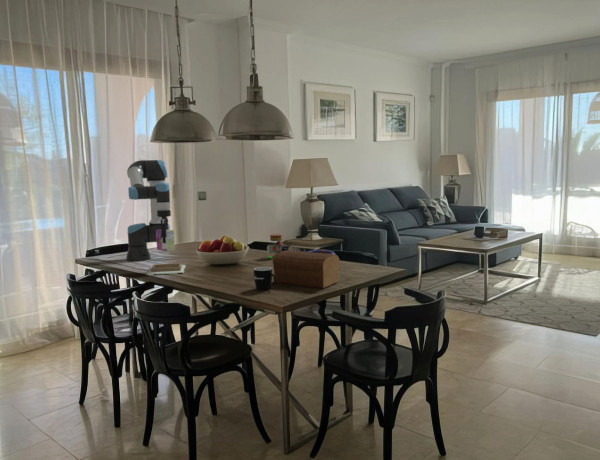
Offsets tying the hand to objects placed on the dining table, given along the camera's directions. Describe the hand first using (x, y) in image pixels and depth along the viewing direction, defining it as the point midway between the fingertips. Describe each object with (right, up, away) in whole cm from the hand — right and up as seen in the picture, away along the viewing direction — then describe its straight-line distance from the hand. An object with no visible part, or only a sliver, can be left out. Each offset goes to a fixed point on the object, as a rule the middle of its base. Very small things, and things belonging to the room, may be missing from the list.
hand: (165, 247), depth 302 cm
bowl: (+90, -13, 0) cm, 91 cm away
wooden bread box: (+81, -17, -34) cm, 90 cm away
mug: (+61, -19, -47) cm, 80 cm away
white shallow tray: (0, -14, +2) cm, 14 cm away
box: (0, -2, 0) cm, 2 cm away
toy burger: (+63, -8, +38) cm, 74 cm away
